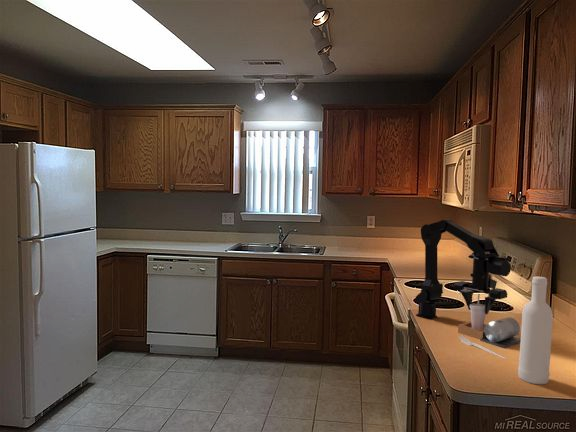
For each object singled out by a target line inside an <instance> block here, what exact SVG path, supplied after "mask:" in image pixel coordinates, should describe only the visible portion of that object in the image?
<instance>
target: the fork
mask: <svg viewBox="0 0 576 432" xmlns="http://www.w3.org/2000/svg"><path fill="white" fill-rule="evenodd" d="M458 338H459V340H460V341H461V343H463V344H465V345H467V346H474V347H476V348H477V349H478V348H479V349H481V350H483V351H485V352H487V353H489V354H493V355H495V356H497V357H500V358H503V359H504V360H507V359H508V358H507V357H505V356H502V355H500V354H498V353H497V352H494V351H493V350H491V349H488V348H486V347H484V346H482V345H480V344H478V343H476V342H472V341H470V340H469V339H468V338H467V337H465V334H461V335H460V336H458Z"/></svg>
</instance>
